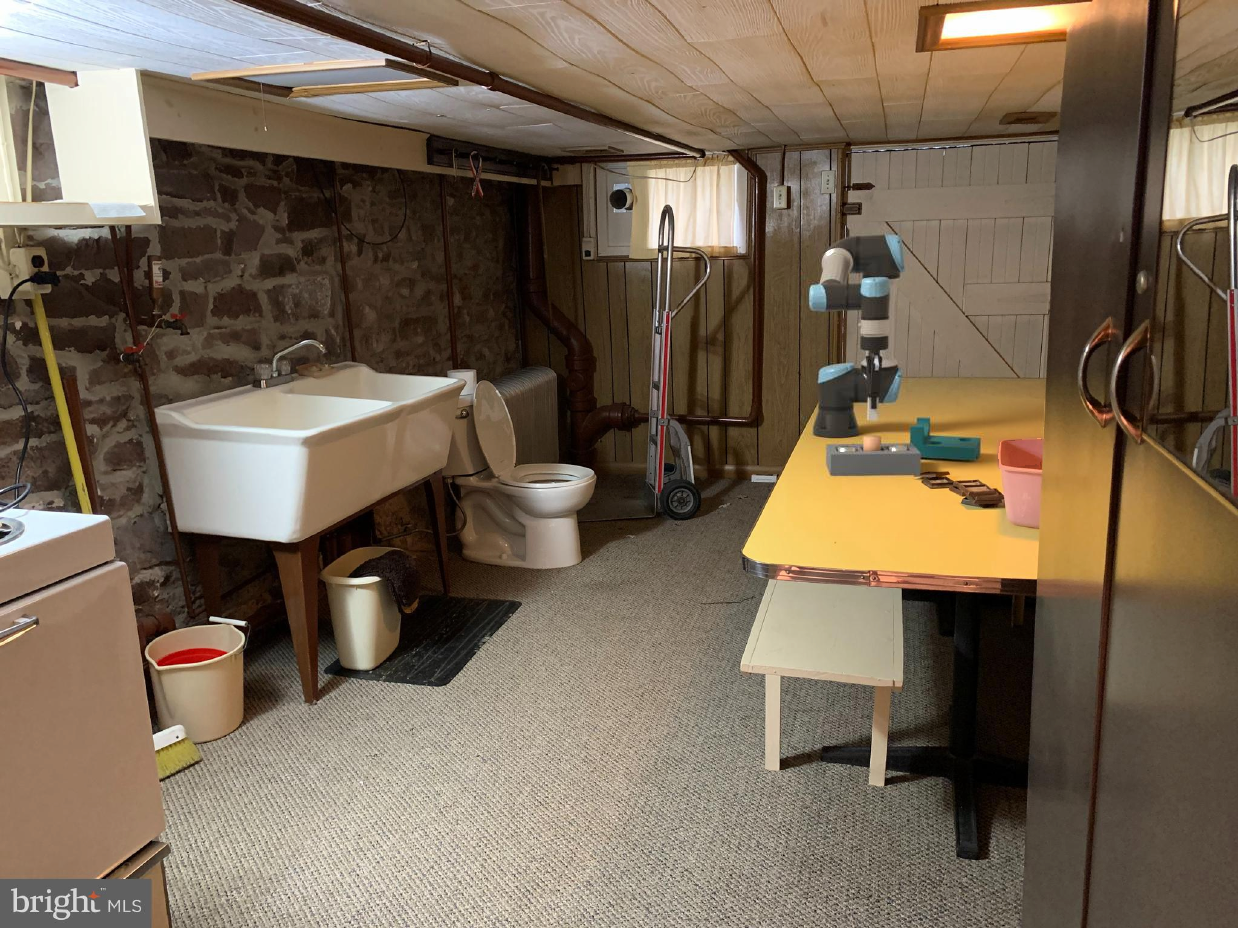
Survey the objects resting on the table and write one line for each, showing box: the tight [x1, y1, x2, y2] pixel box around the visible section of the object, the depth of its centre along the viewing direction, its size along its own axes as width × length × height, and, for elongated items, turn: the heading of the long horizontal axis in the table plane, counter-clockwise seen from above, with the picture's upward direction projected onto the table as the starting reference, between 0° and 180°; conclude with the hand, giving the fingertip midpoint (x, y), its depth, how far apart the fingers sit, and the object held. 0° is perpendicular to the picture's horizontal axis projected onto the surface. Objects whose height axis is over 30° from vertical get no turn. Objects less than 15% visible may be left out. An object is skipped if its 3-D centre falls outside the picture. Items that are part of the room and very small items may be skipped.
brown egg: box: [862, 435, 882, 451], centre depth 264 cm, size 5×5×6 cm
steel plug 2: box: [889, 445, 907, 451], centre depth 264 cm, size 5×5×6 cm
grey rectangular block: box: [825, 442, 922, 477], centre depth 265 cm, size 14×24×6 cm, turn 83°
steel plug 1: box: [838, 445, 855, 451], centre depth 266 cm, size 5×5×6 cm
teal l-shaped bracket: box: [909, 416, 982, 461], centre depth 275 cm, size 18×11×10 cm, turn 62°
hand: (872, 419), depth 263 cm, fingers closed
